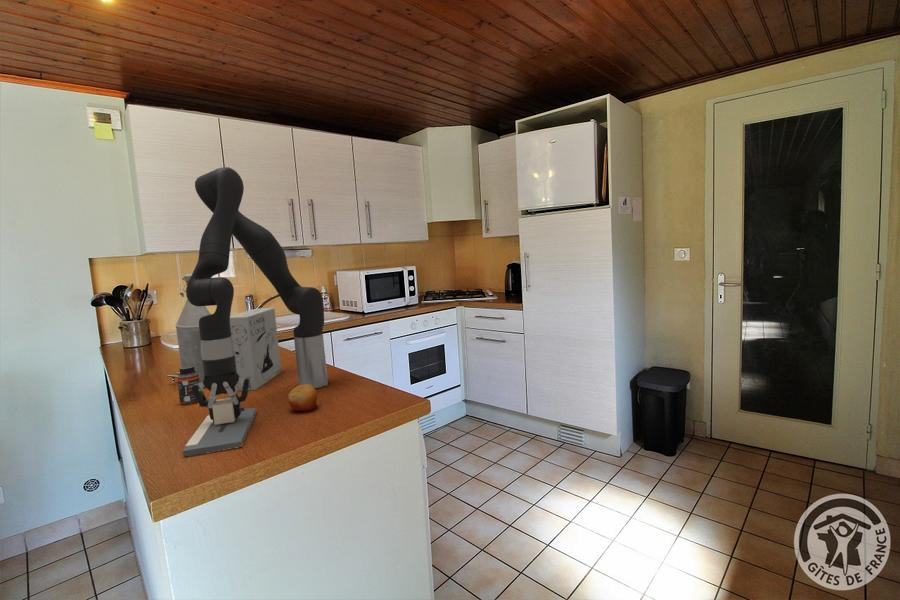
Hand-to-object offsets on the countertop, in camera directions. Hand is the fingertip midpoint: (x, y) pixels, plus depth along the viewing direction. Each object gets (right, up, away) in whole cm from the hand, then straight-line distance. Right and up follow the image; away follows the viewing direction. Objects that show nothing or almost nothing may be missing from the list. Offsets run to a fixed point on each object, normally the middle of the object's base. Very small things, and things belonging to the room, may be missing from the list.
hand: (226, 418), depth 115 cm
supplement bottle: (-23, -1, +23) cm, 33 cm away
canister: (-31, +1, +45) cm, 55 cm away
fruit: (+17, 0, +10) cm, 20 cm away
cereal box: (-10, +2, +42) cm, 44 cm away
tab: (0, 0, 0) cm, 0 cm away
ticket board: (+1, -3, -3) cm, 4 cm away
